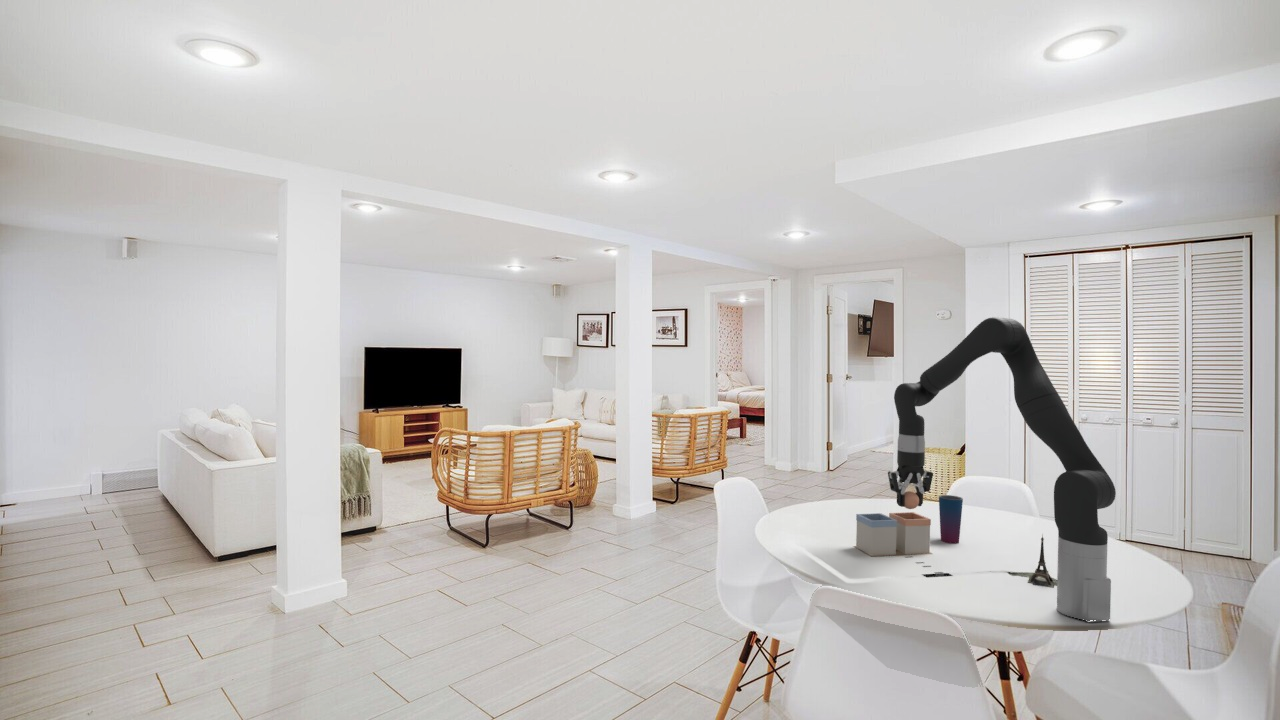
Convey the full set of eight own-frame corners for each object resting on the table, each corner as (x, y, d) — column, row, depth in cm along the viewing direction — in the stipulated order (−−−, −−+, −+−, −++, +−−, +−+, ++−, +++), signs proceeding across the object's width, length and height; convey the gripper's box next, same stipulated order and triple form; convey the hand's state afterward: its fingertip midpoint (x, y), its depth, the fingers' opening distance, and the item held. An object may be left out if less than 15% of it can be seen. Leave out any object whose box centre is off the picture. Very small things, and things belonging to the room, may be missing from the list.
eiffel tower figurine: (1084, 594, 155) (1086, 542, 155) (1047, 595, 154) (1049, 542, 154) (1039, 573, 170) (1040, 525, 170) (1005, 574, 169) (1006, 526, 169)
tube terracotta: (930, 553, 182) (930, 519, 181) (905, 554, 180) (905, 520, 180) (912, 544, 190) (913, 512, 190) (888, 545, 188) (889, 513, 188)
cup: (964, 548, 190) (965, 500, 190) (941, 547, 192) (942, 499, 191) (958, 542, 197) (959, 495, 197) (935, 540, 198) (936, 494, 198)
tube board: (933, 558, 181) (933, 553, 181) (871, 561, 177) (871, 556, 177) (911, 547, 191) (912, 543, 191) (852, 550, 187) (852, 546, 187)
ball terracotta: (922, 510, 183) (923, 493, 183) (907, 511, 182) (907, 493, 182) (911, 506, 188) (912, 489, 188) (896, 506, 187) (896, 489, 187)
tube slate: (896, 554, 179) (897, 520, 179) (870, 555, 178) (871, 521, 178) (880, 546, 187) (881, 513, 187) (855, 547, 186) (856, 514, 186)
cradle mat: (953, 576, 165) (953, 572, 165) (926, 578, 164) (926, 573, 164) (920, 559, 179) (920, 555, 179) (895, 561, 177) (895, 556, 177)
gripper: (897, 451, 180) (895, 509, 180) (940, 451, 182) (939, 508, 182) (882, 447, 187) (880, 503, 187) (924, 447, 190) (923, 502, 190)
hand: (909, 505), depth 185 cm, fingers closed on ball terracotta, 5 cm apart
